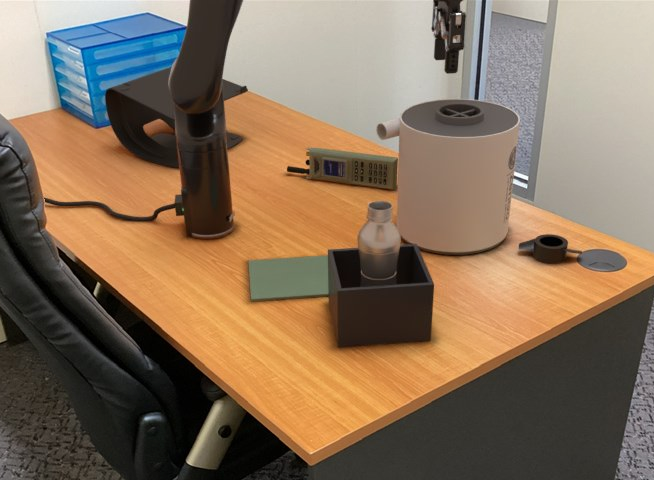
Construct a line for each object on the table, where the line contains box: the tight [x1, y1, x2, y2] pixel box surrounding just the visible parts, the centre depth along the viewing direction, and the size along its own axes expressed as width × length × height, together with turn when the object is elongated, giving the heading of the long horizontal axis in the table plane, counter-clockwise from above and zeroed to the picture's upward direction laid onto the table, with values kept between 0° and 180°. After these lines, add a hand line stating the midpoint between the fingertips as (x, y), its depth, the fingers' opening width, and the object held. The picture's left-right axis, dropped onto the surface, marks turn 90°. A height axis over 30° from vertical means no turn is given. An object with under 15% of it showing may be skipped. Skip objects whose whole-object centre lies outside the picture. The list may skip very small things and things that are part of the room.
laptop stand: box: [104, 66, 249, 169], centre depth 201 cm, size 26×24×16 cm
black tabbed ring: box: [518, 233, 583, 265], centre depth 152 cm, size 8×10×3 cm
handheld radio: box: [286, 146, 399, 191], centre depth 182 cm, size 7×3×25 cm
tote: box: [327, 243, 435, 348], centre depth 133 cm, size 14×13×10 cm
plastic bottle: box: [356, 200, 402, 287], centre depth 130 cm, size 6×7×20 cm
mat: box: [247, 254, 328, 302], centre depth 148 cm, size 20×14×1 cm
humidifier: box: [375, 98, 521, 256], centre depth 155 cm, size 22×21×23 cm
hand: (445, 66), depth 152 cm, fingers open, 8 cm apart
